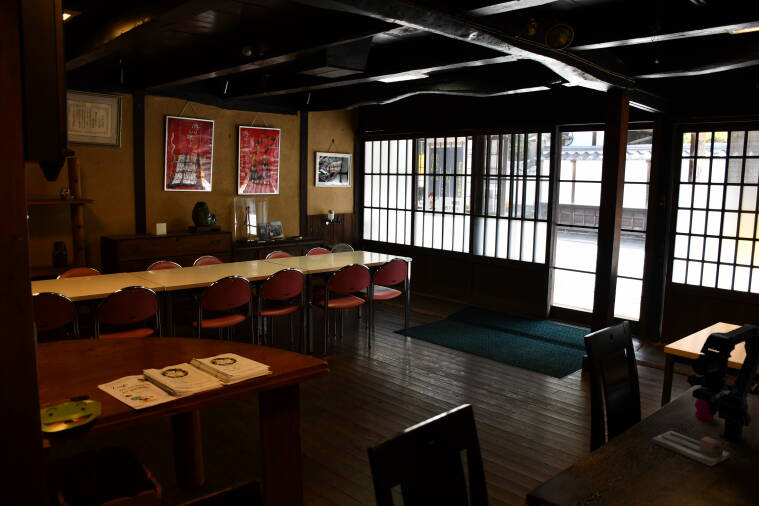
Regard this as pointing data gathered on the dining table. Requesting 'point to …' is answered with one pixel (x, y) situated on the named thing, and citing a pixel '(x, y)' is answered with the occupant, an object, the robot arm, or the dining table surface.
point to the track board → (690, 448)
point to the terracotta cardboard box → (708, 444)
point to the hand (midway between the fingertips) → (712, 415)
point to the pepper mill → (702, 409)
